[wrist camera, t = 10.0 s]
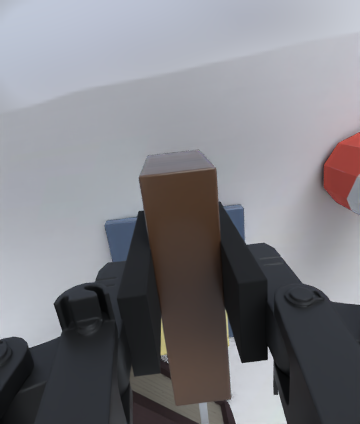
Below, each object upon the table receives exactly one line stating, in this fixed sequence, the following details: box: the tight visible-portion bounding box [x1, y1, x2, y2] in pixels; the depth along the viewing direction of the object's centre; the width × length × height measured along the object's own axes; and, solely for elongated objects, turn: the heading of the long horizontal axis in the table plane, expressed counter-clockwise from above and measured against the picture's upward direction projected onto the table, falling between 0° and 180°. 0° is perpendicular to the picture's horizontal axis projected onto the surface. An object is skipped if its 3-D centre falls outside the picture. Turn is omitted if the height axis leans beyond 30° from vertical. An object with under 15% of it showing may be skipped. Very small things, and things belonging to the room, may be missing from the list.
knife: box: [139, 150, 231, 424], centre depth 14 cm, size 20×2×4 cm, turn 6°
